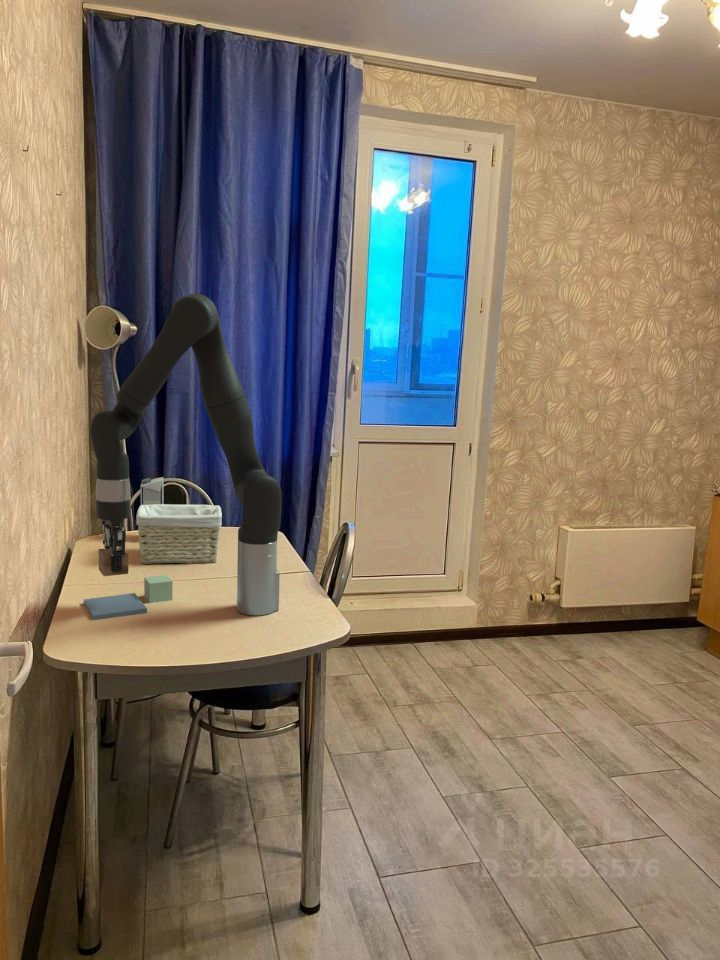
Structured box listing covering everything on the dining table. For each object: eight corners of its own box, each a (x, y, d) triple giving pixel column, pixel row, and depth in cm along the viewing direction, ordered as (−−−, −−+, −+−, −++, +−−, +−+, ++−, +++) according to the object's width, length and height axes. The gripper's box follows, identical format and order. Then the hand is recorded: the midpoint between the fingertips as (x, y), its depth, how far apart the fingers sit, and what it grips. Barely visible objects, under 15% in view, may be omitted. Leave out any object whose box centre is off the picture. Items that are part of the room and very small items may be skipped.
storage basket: (219, 549, 228) (220, 503, 226) (222, 564, 213) (222, 514, 210) (139, 551, 223) (138, 503, 221) (135, 566, 207) (135, 515, 205)
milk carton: (163, 542, 234) (162, 480, 231) (141, 542, 232) (140, 480, 229) (163, 536, 241) (163, 476, 237) (142, 537, 239) (141, 476, 236)
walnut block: (122, 567, 176) (122, 547, 175) (128, 573, 172) (128, 552, 171) (98, 569, 173) (98, 549, 173) (103, 576, 169) (103, 555, 168)
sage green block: (166, 593, 186) (166, 574, 185) (172, 600, 181) (172, 581, 181) (144, 596, 183) (144, 577, 183) (149, 603, 179) (149, 583, 178)
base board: (134, 596, 182) (134, 593, 182) (147, 612, 172) (147, 608, 172) (83, 603, 177) (83, 599, 176) (93, 619, 166) (93, 615, 166)
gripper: (137, 502, 165) (137, 575, 168) (122, 490, 178) (123, 558, 180) (102, 504, 162) (103, 578, 164) (90, 492, 174) (90, 561, 177)
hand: (113, 568), depth 172 cm, fingers closed on walnut block, 5 cm apart
